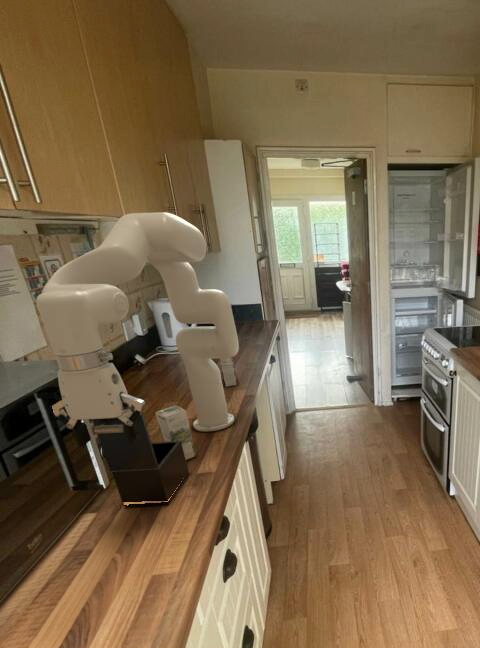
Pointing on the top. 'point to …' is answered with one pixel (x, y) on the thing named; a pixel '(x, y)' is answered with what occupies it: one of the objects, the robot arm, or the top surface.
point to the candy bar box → (228, 371)
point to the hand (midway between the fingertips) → (110, 442)
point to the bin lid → (125, 445)
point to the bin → (154, 477)
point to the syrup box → (176, 429)
